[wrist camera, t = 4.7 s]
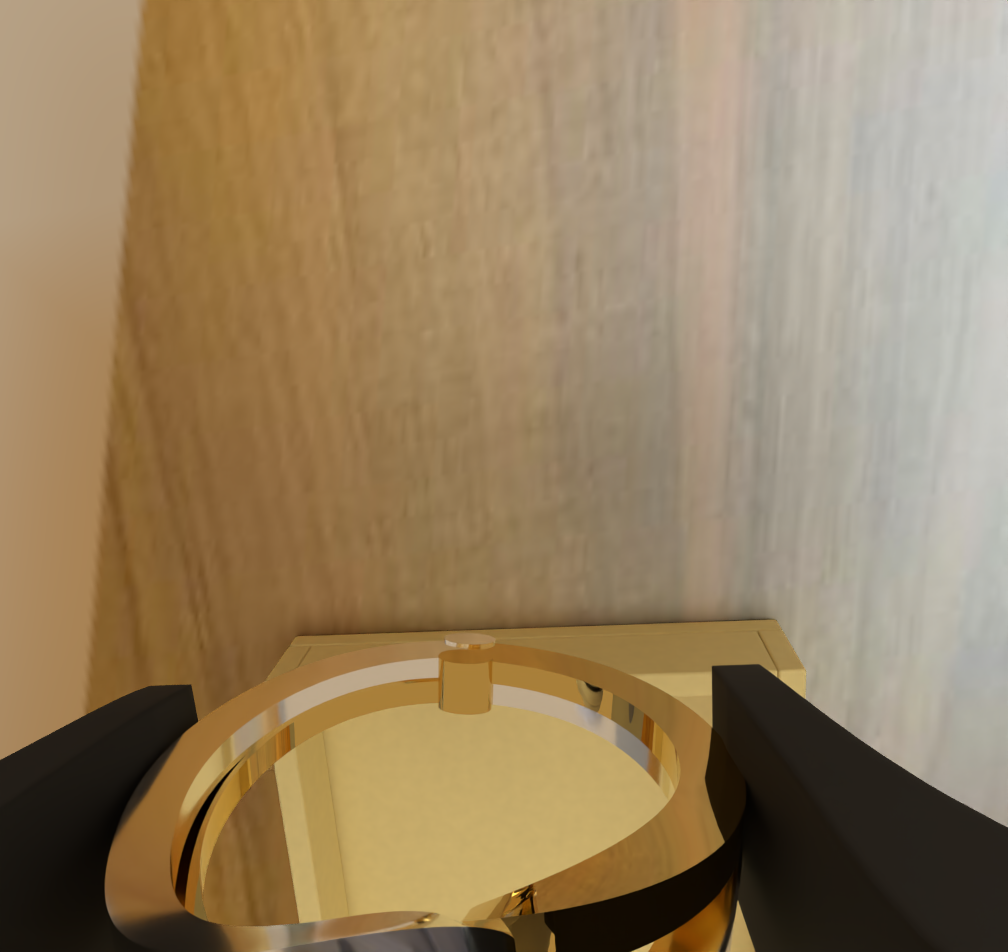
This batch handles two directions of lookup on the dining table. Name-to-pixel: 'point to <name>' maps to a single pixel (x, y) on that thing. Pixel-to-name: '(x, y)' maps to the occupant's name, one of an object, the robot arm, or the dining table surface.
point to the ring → (459, 690)
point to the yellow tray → (487, 775)
